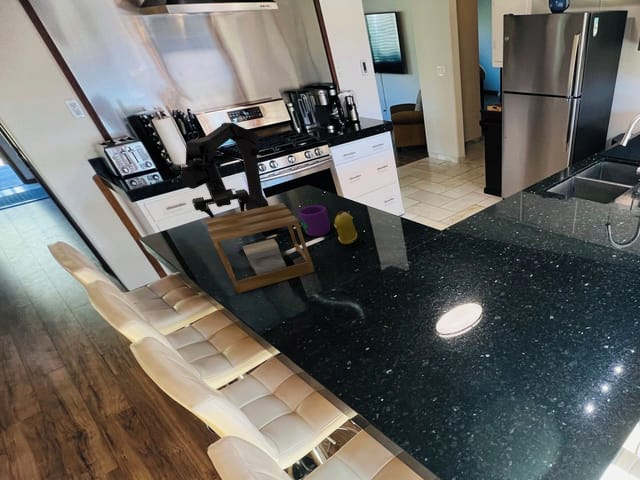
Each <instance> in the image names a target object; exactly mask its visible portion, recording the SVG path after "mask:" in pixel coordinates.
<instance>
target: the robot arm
mask: <svg viewBox="0 0 640 480" xmlns="http://www.w3.org/2000/svg"><path fill="white" fill-rule="evenodd" d="M229 140H231V141H233V142H234V143H235V145H236V148H237V150H238V152H240V154H241V155H242V157H243V158H242V159H243V166H244V172H245V177H246V184H247V190H248V191H247V190H246V189H245V188H243V189H237V190H234V192H233V190H232V188H228V189H227V188H226V186H225V185H226V184H225V182H224V181H223V178H222V176H221V173H220V171H219V169H218V167H217V164H220V160H219V159H216V158H215V157H216V155H217V153H218V149H219V148H221V147H222V145H224V144H226V143H227V142H228V141H229ZM260 151H261V140H260V136H259V135H258V134H257V133H256V132H255V131H254V130H250V129H248V128H245V127H243V126H240V125H238V124H237V123H235V122H223V123H221V125H219V126H218V127H217V128H216V129H214V130H213V131H211V132H210V133H208V134H207V135H205V136H203V137H199V138H194V139H191V140H188V141H187V142H186V143H185V166H181V167H180V169H181V172H180V181H181V182H182V184H183V185H184V186H186V187H187V188H188V189H192V190H195V189H198V188H199V187H202V186H203V185H205V187H206V189H207V191H208V193H209V196H210V198H207V199H205V197H204V196H200V197H196V198H192V199H191V202H192V205H193V207H194V209H195V211H200V212H201V213H206V214H207V215H208V216H209V217H210V218H214V217H216V216H215V214H214V213H213V211H212V210H211V208H210V206H209V205H215V206H216V207H217V208H221V207H224V206H225V207H226V206H230V205H232V201H235V200H236V201H237V203H238V207H239V212H242V211H245V210H246V211H247V210H252V209H257V208H261V207H266V206H270V204H269V202H268V200H267V199H266V198H265V196H264V194H263V187H262V182H261V181H262V180H261V174H260V168H259V161H258V155H259V153H260ZM278 233H281V232H280V230H279V228H276V229H272V230H267V231H263V232H260V234H261V235H263V236H264V237H267V236H271V235H274V234H278Z"/></svg>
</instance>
